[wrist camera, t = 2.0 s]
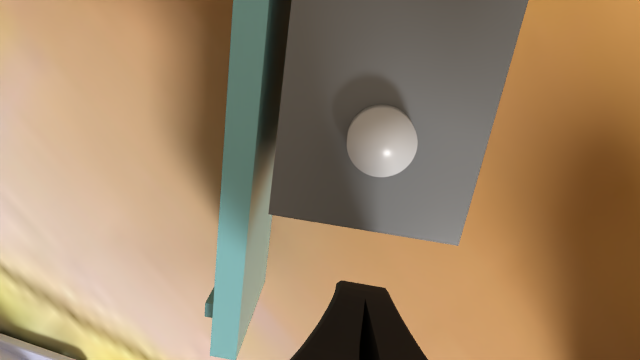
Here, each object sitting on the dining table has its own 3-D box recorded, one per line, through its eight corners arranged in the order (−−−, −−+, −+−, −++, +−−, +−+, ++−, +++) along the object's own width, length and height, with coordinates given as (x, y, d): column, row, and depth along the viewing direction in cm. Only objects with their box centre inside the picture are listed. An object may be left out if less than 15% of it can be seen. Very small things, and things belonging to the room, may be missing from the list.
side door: (261, -46, 13) (219, -76, 9) (304, -40, 13) (279, -67, 9) (235, 276, 17) (197, 353, 13) (267, 281, 17) (239, 360, 13)
